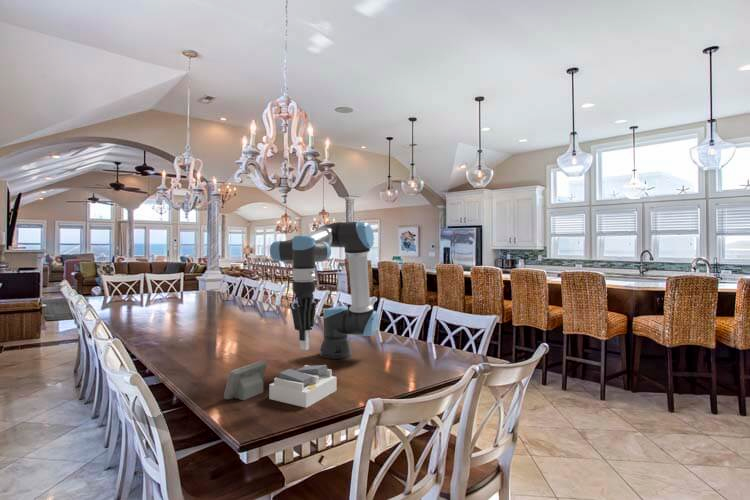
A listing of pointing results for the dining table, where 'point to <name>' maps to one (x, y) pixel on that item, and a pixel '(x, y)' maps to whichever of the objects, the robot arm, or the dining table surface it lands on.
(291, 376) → the rocker
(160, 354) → the dining table surface
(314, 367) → the rocker
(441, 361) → the dining table surface
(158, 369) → the dining table surface
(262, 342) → the dining table surface
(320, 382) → the switch unit
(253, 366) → the digital clock
